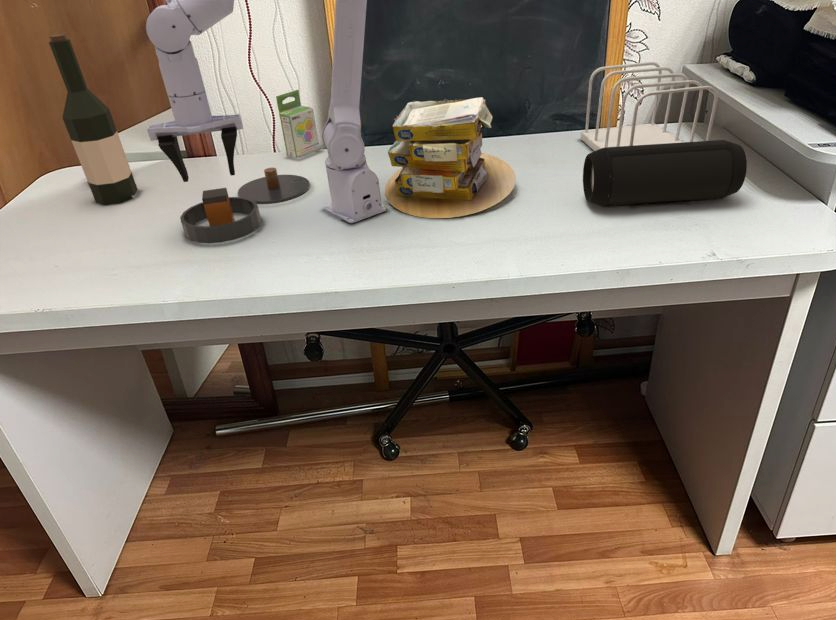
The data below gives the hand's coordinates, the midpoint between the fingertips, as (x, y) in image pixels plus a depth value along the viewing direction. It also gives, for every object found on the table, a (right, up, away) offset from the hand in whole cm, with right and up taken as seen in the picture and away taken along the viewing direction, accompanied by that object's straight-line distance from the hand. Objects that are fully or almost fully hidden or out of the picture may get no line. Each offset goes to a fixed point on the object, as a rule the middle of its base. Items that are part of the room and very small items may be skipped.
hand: (209, 176), depth 106 cm
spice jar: (+1, -8, +5) cm, 9 cm away
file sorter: (+82, +12, +25) cm, 86 cm away
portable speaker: (+78, -3, +5) cm, 78 cm away
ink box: (+8, +15, +37) cm, 41 cm away
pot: (+1, -8, +6) cm, 10 cm away
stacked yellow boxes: (+41, +1, +14) cm, 44 cm away
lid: (+6, +3, +19) cm, 20 cm away
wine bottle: (-27, +2, +22) cm, 35 cm away
